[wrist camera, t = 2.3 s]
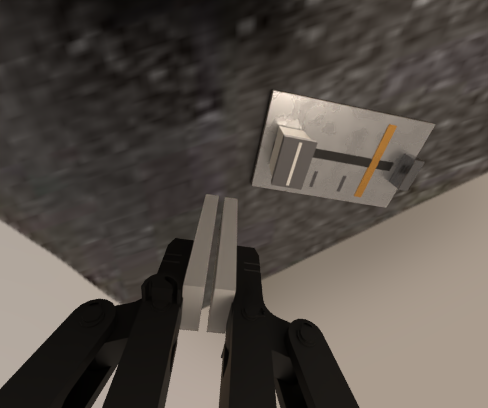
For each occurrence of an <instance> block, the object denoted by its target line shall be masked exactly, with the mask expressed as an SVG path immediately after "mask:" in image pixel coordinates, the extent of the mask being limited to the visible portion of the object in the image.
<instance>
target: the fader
mask: <svg viewBox="0 0 488 408" xmlns="http://www.w3.org/2000/svg"><path fill="white" fill-rule="evenodd" d="M317 144H318V142H317V141H316V140H312V139H310V137H309V136H308V135H307V134H306V133H305V132H304V131H303V130H297V129H292V128H287V127H282V126H279V128H278V132H277V136H276V140H275V144H274V148H273V151H272V155H271V159H270V163H269V168H270V171H271V175H272V179H271V185H275V186H281V187H287V188H293V189H299V190H301V189H302V186H303V183H304V181H305V178H306V175H307V172H308V169H309V167H310V164H311V161H312V158H313V155H314V152H315V150H316V147H317Z"/></svg>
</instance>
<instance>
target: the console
mask: <svg viewBox="0 0 488 408" xmlns="http://www.w3.org/2000/svg"><path fill="white" fill-rule="evenodd" d="M279 126H282V127H287V128H292V129H297V130H303V131H304V132H305V133H306V134H307V135H308V136H309V137H310V139H312V140H316V141H317V142H318V144H317V147H316V150H315V152H314V155H313V158H312V161H311V164H310V167H309V169H308V172H307V175H306V178H305V181H304V183H303V186H302V189H301V190H299V189H293V188H287V187H281V186H275V185H271V179H272V175H271V171H270V168H269V163H270V159H271V155H272V151H273V148H274V144H275V140H276V136H277V132H278V128H279ZM434 126H435V124H433V123H430V122H427V121H422V120H418V119H413V118H408V117H403V116H399V115H394V114H389V113H384V112H379V111H375V110H370V109H365V108H360V107H356V106H351V105H346V104H341V103H336V102H332V101H327V100H322V99H317V98H313V97H308V96H303V95H298V94H294V93H289V92H284V91H279V90H274V89H272V92H271V96H270V100H269V105H268V109H267V114H266V118H265V122H264V127H263V131H262V136H261V140H260V145H259V149H258V153H257V158H256V162H255V167H254V171H253V176H252V180H251V183H252V186H257V187H263V188H269V189H275V190H281V191H287V192H293V193H300V194H306V195H312V196H318V197H324V198H330V199H336V200H343V201H349V202H355V203H361V204H367V205H373V206H379V207H387V206H388V204H389V202H390V200H391V199H392V197H393V195H394V194H395V192H396V190H397V189H399V190H404V191H407V190H408V189H409V187H410V185H411V184H412V182H413V181H414V179H415V177H416V176H417V174H418V173H419V171H420V169H421V168H422V166H423V164H424V163H425V162H424V161H422V160H421V159H419V158H417V157H416V156H417V155H418V153H419V151H420V150H421V148H422V146H423V145H424V143H425V141H426V139H427V138H428V136H429V134H430V133H431V131H432V129H433V128H434Z"/></svg>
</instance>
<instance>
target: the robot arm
mask: <svg viewBox="0 0 488 408" xmlns="http://www.w3.org/2000/svg"><path fill="white" fill-rule="evenodd" d="M218 199H219V196H216V195H209V194H206V196H205V200H204V204H203V208H202V212H201V216H200V220H199V224H198V228H197V232H196V236H195V240H194V241H193V240H186V239H178V238H175V239H174V240H173V241H172V242H171V243H170V244H169V245H168V247H167V249H166V252H165V255H164V257H163V260H162V262H161V265H160V268H159V270H158V273H157V274H155V275H152V276H150V277H149V278H148V279H146V280H145V281H144V283H143V284H142V286H141V289H142V299H140V300H137V301H135V302H132V303H128V304H122V305H117V306H114V305H113V303H112V302H110V301H108V300H105V299H95V300H90V301H88V302H86V303H84V304H82V305H80V306H79V307H78V308H77V309H75V310H74V311H73V312H72V313H71V314H70V315H69V317H68V318H67V319H66V320H65V321H64V322H63V323H62V324H61V325H60V326H59V327H58V328H57V329H56V330H55V331H54V332H53V333H52V335H51V336H50V337H49V338H48V339H47V340H46V341H45V342H44V343H43V344H42V345H41V346H40V347H39V348H38V349H37V351H36V352H35V353H34V354H33V355H32V356H31V357H30V358H29V359H28V360H27V361H26V362H25V363H24V364H23V365H22V367H21V368H20V369H19V370H18V371H17V372H16V373H15V374H14V375H13V376H12V377H11V378H10V379H9V380H8V381H7V383H5V385H4V386H3V387H2V388H1V389H0V408H91V407H92V405H93V404H94V402H95V401H96V399H97V397H98V396H99V394H100V393H101V391H102V389H103V388H104V386H105V385H106V383H107V381H108V380H109V378H110V376H111V375H112V373H113V372H114V370H115V368H116V367H117V365H118V367H117V370H116V373H115V375H114V378H113V380H112V383H111V386H110V388H109V391H108V394H107V396H106V399H105V402H104V404H103V407H102V408H164V407H165V402H166V397H167V392H168V387H169V382H170V377H171V372H172V367H173V362H174V357H175V351H176V347H177V337H178V333H179V329H182V330H193V331H198V328H199V322H200V315H201V309H202V303H203V296H204V290H205V283H206V277H207V270H208V264H209V257H210V251H211V244H212V238H213V231H214V225H215V218H216V212H217V205H218ZM237 205H238V199H235V198H228V197H225V200H224V206H223V212H222V218H221V224H220V229H219V236H218V245H217V253H216V261H215V269H214V277H213V285H212V294H211V302H210V310H209V318H208V326H207V332H214V333H225V331H226V339H225V344H224V349H223V352H222V355H221V358H223V361H222V374H221V386H220V399H219V408H277V407H276V396H275V390H276V393H277V397H278V401H279V404H280V407H281V408H359V406H358V404H357V402H356V400H355V398H354V396H353V394H352V392H351V390H350V388H349V386H348V384H347V382H346V380H345V378H344V376H343V374H342V372H341V370H340V368H339V366H338V364H337V362H336V360H335V358H334V356H333V354H332V352H331V350H330V348H329V346H328V344H327V342H326V340H325V338H324V336H323V334H322V332H321V331H320V329H319V328H318V327H317V326H316V325H315V324H313V323H312V322H310V321H308V320H306V319H297V320H294V321H293V322H292V323H289V322H287V321H285V320H282V319H280V318H278V317H276V316H274V315H273V314H272V313H270V312H269V310H268V309H267V308H266V306H265V304H264V301H263V295H262V284H261V273H260V266H259V265H260V263H259V255H258V254H257V252H256V250H255V249H254V248H250V247H243V246H237Z"/></svg>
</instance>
